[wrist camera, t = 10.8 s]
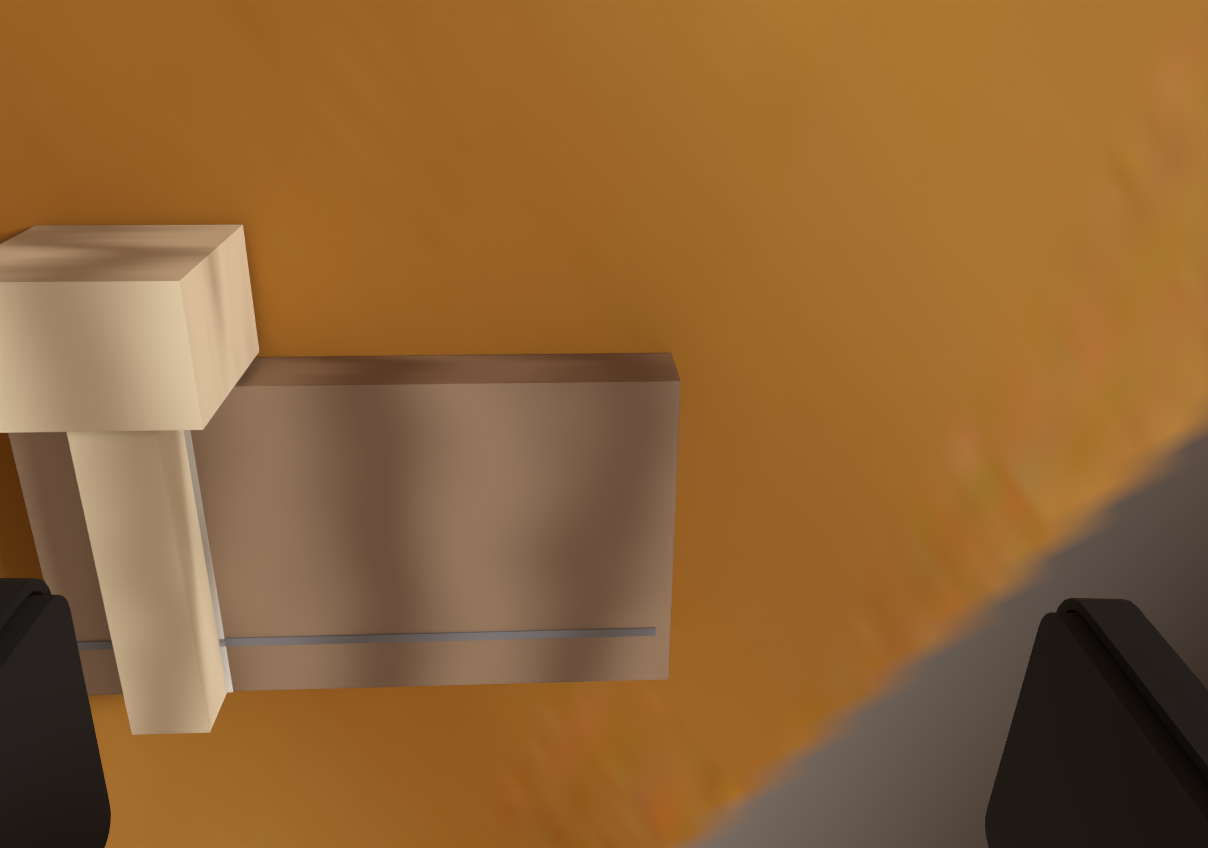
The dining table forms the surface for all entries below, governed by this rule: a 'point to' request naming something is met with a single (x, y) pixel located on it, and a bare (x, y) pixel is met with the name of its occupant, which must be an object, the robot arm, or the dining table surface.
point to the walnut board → (412, 521)
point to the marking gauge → (134, 425)
